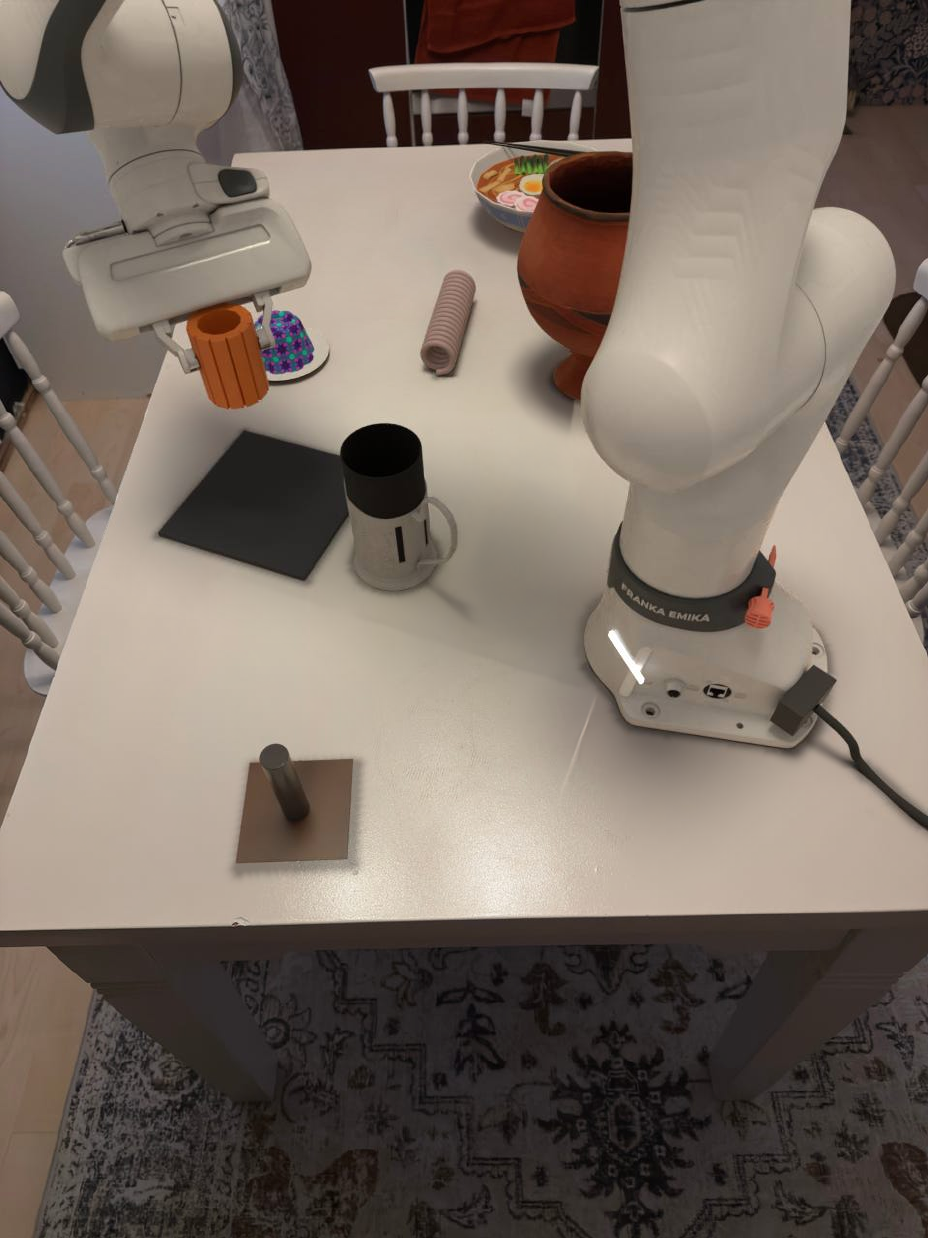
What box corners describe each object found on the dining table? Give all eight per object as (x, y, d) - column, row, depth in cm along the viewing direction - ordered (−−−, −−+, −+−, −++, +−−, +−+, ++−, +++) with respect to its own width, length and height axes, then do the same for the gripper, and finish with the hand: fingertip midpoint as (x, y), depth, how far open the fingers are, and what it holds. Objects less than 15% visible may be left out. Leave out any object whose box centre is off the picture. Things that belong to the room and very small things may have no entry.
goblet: (678, 429, 99) (726, 223, 79) (516, 432, 99) (524, 227, 80) (654, 334, 111) (691, 133, 91) (510, 337, 111) (515, 138, 91)
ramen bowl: (439, 244, 126) (436, 189, 119) (495, 176, 138) (495, 123, 132) (598, 276, 119) (605, 220, 113) (641, 202, 132) (649, 148, 126)
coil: (456, 348, 103) (478, 269, 113) (419, 342, 103) (444, 263, 113) (453, 379, 106) (475, 300, 117) (417, 373, 106) (442, 294, 117)
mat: (379, 468, 96) (378, 465, 96) (304, 581, 86) (303, 577, 86) (244, 432, 101) (243, 429, 100) (158, 535, 91) (157, 532, 90)
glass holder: (399, 516, 92) (386, 405, 80) (490, 587, 85) (490, 479, 73) (337, 558, 88) (313, 449, 76) (426, 636, 82) (415, 530, 70)
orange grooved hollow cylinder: (279, 379, 82) (263, 310, 76) (248, 415, 78) (229, 346, 72) (228, 366, 83) (208, 297, 77) (196, 401, 80) (173, 332, 74)
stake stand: (354, 765, 73) (337, 702, 65) (349, 864, 68) (329, 810, 60) (252, 768, 73) (222, 706, 65) (239, 868, 68) (204, 815, 60)
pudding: (322, 324, 114) (316, 288, 110) (336, 376, 107) (330, 340, 103) (234, 338, 112) (225, 303, 108) (242, 392, 105) (232, 356, 101)
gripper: (47, 224, 69) (116, 386, 72) (280, 166, 74) (337, 319, 77) (58, 250, 75) (122, 399, 78) (273, 195, 80) (326, 336, 83)
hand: (231, 359), depth 77 cm, fingers closed on orange grooved hollow cylinder, 6 cm apart
